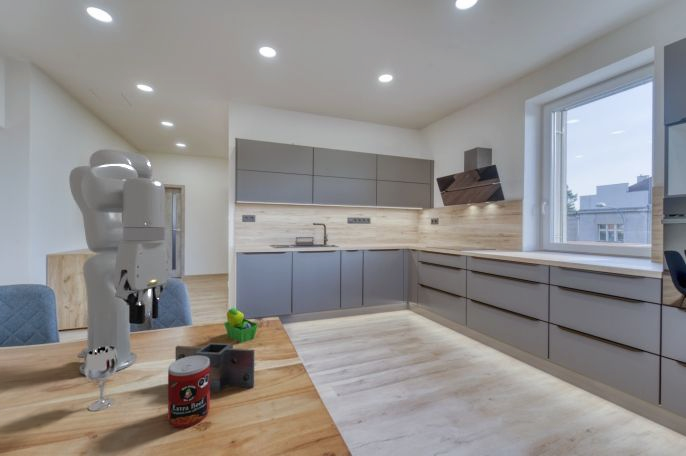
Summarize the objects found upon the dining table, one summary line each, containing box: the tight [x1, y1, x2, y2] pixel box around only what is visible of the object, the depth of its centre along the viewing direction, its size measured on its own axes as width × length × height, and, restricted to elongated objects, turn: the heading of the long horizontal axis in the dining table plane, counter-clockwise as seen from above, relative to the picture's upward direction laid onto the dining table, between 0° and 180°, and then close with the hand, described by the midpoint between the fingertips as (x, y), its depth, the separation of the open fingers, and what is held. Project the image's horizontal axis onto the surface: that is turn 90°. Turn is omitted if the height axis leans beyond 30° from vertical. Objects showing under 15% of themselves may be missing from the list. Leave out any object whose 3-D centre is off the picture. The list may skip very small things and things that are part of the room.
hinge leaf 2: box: [195, 342, 255, 393], centre depth 74 cm, size 13×6×9 cm, turn 83°
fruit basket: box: [223, 307, 259, 344], centre depth 105 cm, size 11×9×11 cm
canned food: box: [167, 355, 211, 429], centre depth 62 cm, size 8×8×11 cm
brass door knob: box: [135, 279, 158, 331], centre depth 64 cm, size 5×5×10 cm
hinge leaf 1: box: [174, 345, 226, 379], centre depth 74 cm, size 13×6×9 cm, turn 83°
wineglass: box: [84, 346, 118, 412], centre depth 65 cm, size 6×6×12 cm
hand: (144, 319), depth 64 cm, fingers closed on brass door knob, 3 cm apart
